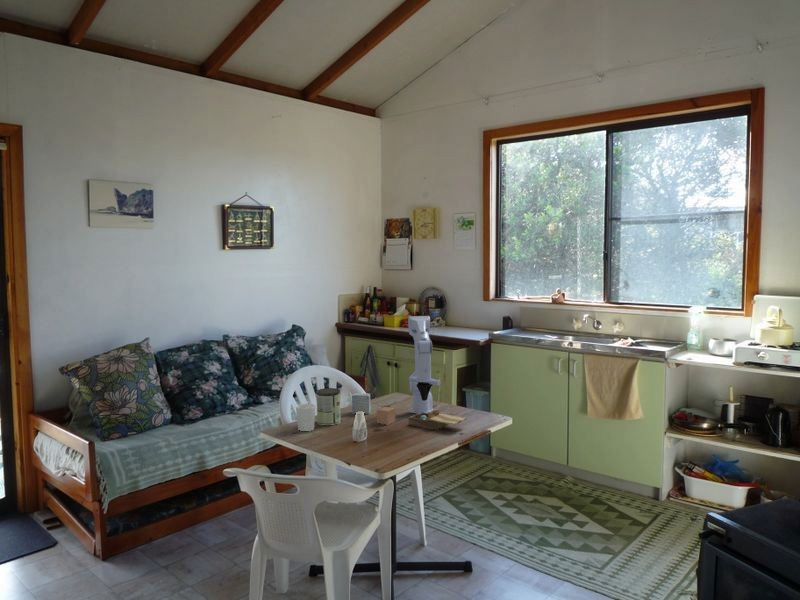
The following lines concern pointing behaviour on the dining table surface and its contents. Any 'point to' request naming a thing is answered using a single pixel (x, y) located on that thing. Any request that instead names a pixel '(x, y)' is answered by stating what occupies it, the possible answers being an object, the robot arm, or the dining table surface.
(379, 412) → the tan cardboard cube
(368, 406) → the medicine box
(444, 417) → the lid
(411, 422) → the walnut box
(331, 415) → the coffee can
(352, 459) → the dining table surface
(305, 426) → the white cup
